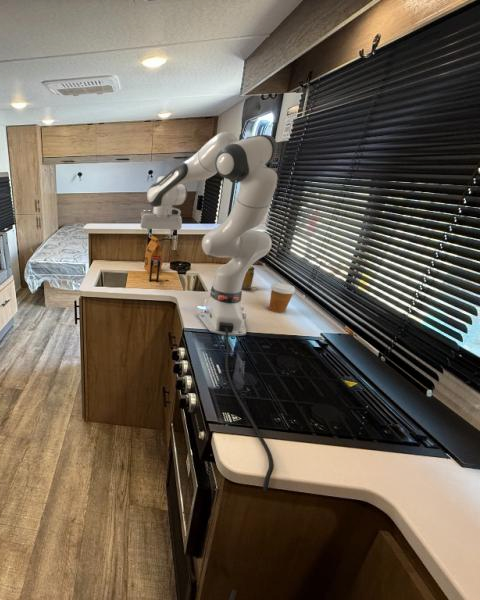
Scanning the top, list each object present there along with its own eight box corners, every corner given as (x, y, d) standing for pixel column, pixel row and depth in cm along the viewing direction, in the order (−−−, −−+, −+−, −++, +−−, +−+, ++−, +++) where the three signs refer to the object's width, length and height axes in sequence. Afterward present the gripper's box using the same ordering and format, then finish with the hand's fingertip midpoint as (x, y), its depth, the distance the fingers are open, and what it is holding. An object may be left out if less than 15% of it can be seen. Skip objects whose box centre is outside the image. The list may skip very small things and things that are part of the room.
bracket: (161, 286, 172) (164, 263, 166) (145, 285, 173) (147, 262, 168) (160, 280, 182) (163, 257, 176) (145, 279, 183) (147, 256, 178)
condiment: (241, 284, 174) (245, 264, 169) (256, 288, 168) (261, 268, 163) (235, 287, 170) (239, 267, 165) (250, 292, 164) (255, 270, 159)
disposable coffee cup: (261, 309, 144) (268, 285, 139) (270, 304, 150) (276, 281, 145) (284, 316, 137) (291, 291, 133) (291, 310, 143) (299, 286, 138)
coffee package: (147, 275, 190) (150, 240, 181) (142, 269, 201) (145, 235, 192) (162, 275, 190) (166, 239, 181) (157, 268, 201) (161, 235, 192)
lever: (161, 260, 161) (162, 256, 161) (152, 260, 162) (152, 256, 162) (159, 265, 174) (159, 261, 174) (150, 265, 174) (150, 261, 175)
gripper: (141, 210, 151) (138, 238, 157) (184, 211, 148) (180, 239, 153) (141, 208, 157) (139, 235, 162) (182, 209, 153) (179, 237, 159)
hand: (159, 237), depth 158 cm, fingers open, 8 cm apart
